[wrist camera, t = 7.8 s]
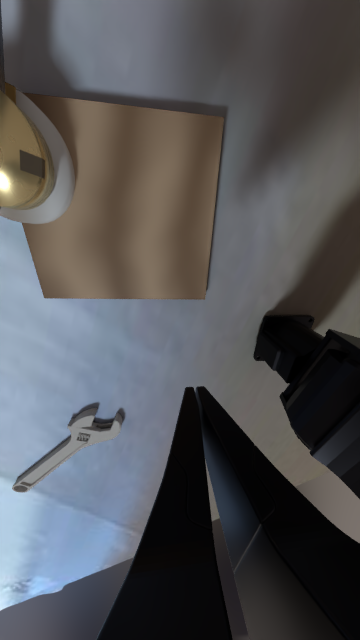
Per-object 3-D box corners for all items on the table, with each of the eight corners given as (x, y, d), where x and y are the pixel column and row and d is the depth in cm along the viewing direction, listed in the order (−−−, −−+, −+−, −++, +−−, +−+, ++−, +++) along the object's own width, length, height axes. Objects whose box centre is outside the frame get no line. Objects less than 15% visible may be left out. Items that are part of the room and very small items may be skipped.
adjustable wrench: (30, 483, 32) (23, 496, 30) (-5, 470, 30) (-15, 483, 28) (129, 419, 27) (127, 430, 26) (97, 398, 25) (92, 409, 23)
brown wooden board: (219, 125, 14) (229, 106, 12) (203, 296, 19) (207, 302, 18) (-51, 93, 12) (-93, 65, 10) (20, 295, 18) (3, 301, 16)
